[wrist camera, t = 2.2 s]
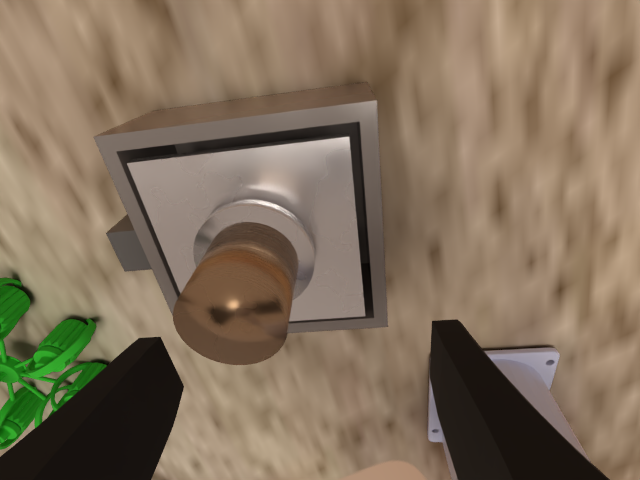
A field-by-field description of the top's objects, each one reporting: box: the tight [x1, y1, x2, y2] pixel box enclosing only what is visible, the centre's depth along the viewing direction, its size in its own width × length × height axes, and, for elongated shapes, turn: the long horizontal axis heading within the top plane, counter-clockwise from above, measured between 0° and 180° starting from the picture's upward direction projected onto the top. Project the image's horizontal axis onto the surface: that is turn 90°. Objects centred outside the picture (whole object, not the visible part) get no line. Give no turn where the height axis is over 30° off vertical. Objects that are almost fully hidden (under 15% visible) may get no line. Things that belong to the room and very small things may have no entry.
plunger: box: [127, 133, 365, 365], centre depth 13 cm, size 8×8×5 cm
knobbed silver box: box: [94, 82, 388, 333], centre depth 17 cm, size 10×12×5 cm
